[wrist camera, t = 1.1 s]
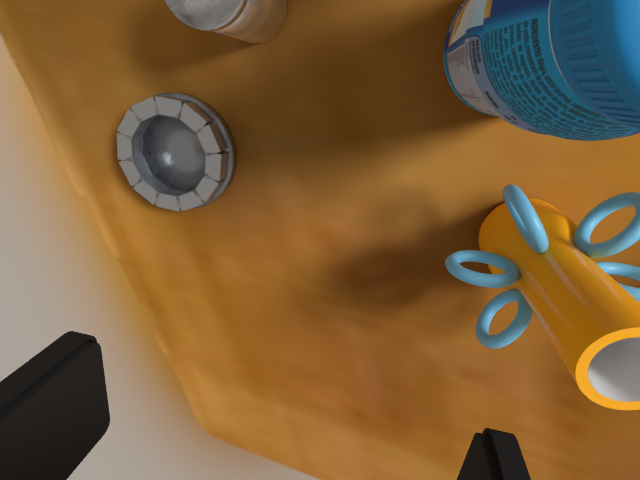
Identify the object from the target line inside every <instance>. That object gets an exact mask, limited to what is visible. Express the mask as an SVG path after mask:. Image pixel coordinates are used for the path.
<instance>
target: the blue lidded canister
mask: <svg viewBox="0 0 640 480" xmlns="http://www.w3.org/2000/svg"><path fill="white" fill-rule="evenodd" d="M443 63H444V70H445V74H446V77H447V80H448V83H449V85H450V87H451V88H452V90H453V92H454V93H455V94H456V96H457V97H458V98H459V99H460V100H461V101H462V102H463V103H465V104H466V105H467V106H469V107H470V108H472V109H474V110H476V111H478V112H481V113H484V114H488V115H492V116H499V117H500V118H502V119H503V120H505V121H506V122H508V123H510V124H511V125H513V126H516V127H518V128H520V129H523V130H526V131H529V132H533V133H538V134H544V135H553V136H556V137H560V138H565V139H571V140H582V141H597V140H608V139H615V138H621V137H626V136H630V135H634V134H638V133H640V0H465V1H464V2H463V3H462V5H461V6H460V7H459V9H458V10H457V12H456V14H455V15H454V17H453V19H452V21H451V23H450V26H449V28H448V31H447V34H446V38H445V43H444V50H443Z"/></svg>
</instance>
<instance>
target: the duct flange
mask: <svg viewBox="0 0 640 480" xmlns="http://www.w3.org/2000/svg"><path fill="white" fill-rule="evenodd" d="M117 130H118V131H119V132H120V133H117V153H118V159H120V160H123V161H120V162H119V164H120V166H121V168H122V170H123V171H124V173H125V175H126V177H127V179H128V181H129V183H130V185H131V186H133V185H135V184H136V185H135V186H134V188H133V189H134V190H136V191H137V192H138V193H139V194H140V195H142V196H143V197H144V198H145V199H147V200H148V201H149V202H150V203H152V204H153V205H154V204H156V206H157V207H161V208H166V209H170V210H175V211H179V212H180V211H181V210H182V211H185V210H188V209H191V208H197V207H201V206H204V205H206V204H209V203H210V202H212V201H213V200H215V199H217V198H218V197H219V196H220V195H222V194H223V193H224V191H225V190H226V189H227V188H228V186H229V184H230V183H231V180H232V178H233V175H234V172H235V166H236V151H235V145H234V141H233V138H232V135H231V133H230V131H229V129H228V127H227V125H226V123H225V122H224V120H223V119H222V118H221V116H220V115H219V114H218V113H217V112H216V111H215V110H214V109H213V108H212V107H211V106H210V105H208V104H207V103H206V102H204V101H202V100H200V99H199V98H196V97H194V96H191V95H188V94H183V93H163V94H158V95H155V96H152V97H150V98H148V99H146V100H144V101H142V102H139V103H137V104H135V105H133V106H131V108H130V109H128V111H127V112H126V114H125V116H124V118H123V120H122V122H121V124H120V126H119V128H118V129H117Z"/></svg>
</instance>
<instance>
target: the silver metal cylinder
mask: <svg viewBox="0 0 640 480" xmlns="http://www.w3.org/2000/svg"><path fill="white" fill-rule="evenodd" d="M165 2H166V4H167V6H168V7H169V9H170V10H171V11H172V13H173V14H174V15H175V16H176V17H177V18H178V19H179V20H181V21H182V22H183V23H185V24H186V25H188V26H190V27H193V28H196V29H199V30H203V31H213V32H216V33H220V34H223V35H226V36H230V37H233V38H236V39H240V40H243V41H246V42H250V43H263V42H266V41H269V40H270V39H272V38H273V37H275V36H276V35H277V34H278V32H279V31H280V30H281V28H282V26H283V24H284V21H285V18H286V13H287V1H286V0H165Z"/></svg>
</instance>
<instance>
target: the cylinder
mask: <svg viewBox="0 0 640 480" xmlns="http://www.w3.org/2000/svg"><path fill="white" fill-rule="evenodd" d="M503 197H504V200H505V203H503V204H501V205H499V206H498V207H496V208H495V209H494V210H493V211H491V212H490V213H489V215H488V216H487V217H486V218H485V220H484V221H483V223H482V225H481V228H480V231H479V236H478V243H479V248H480V251H479V250H462V251H457V252H454V253H452V254H450V255H449V256H448V257H447V259H446V261H445V265H446V268H447V270H448V271H449V273H450V274H452V275H453V276H454V277H456V278H457V279H459V280H461V281H464V282H466V283H469V284H472V285H476V286H481V287H489V288H501V287H504V288H505V289H507V291H504V292H502V293H500V294H499V295H497V296H496V297H494V298H493V299H492V300H491V301H490V302H489V303H488V304H487V305H486V306H485V308H484V309H483V310H482V312H481V314H480V316H479V318H478V321H477V325H476V335H477V338H478V340H479V341H480V343H481V344H482V345H484V346H486V347H488V348H500V347H504V346H506V345H508V344H510V343H512V342H513V341H514V340H516V339H517V338H518V337H519V336H520V335H521V334H522V333H523V332H524V330H525V329H526V327H527V326H528V324H529V322H530V320H531V317H532V313H534V314H535V316H536V318H537V319H538V321H539V322H540V324H541V326H542V327H543V329H544V331H545V332H546V334H547V336H548V337H549V339H550V340H551V342H552V344H553V345H554V347H555V349H556V350H557V352H558V354H559V355H560V357H561V358H562V360H563V362H564V363H565V365H566V367H567V368H568V370H569V372H570V373H571V375H572V376H573V378H574V380H575V381H576V383H577V385H578V386H579V388H580V390H581V391H582V392H583V393H584V395H586V396H587V397H588V398H589V399H590V400H592V401H593V402H595V403H597V404H599V405H602V406H604V407H608V408H612V409H618V410H638V409H640V288H636V287H631V286H627V285H623V284H620V283H617V282H616V281H615V280H614V279H613V278H611V277H610V276H609V275H608V274H612V275H619V276H624V277H628V278H632V279H635V280H638V281H640V267H636V266H632V265H628V264H623V263H616V262H594V261H593V260H591V259H590V258H589V257H592V258H601V257H607V256H611V255H614V254H616V253H619V252H621V251H623V250H625V249H626V248H628V247H629V246H631V245H632V244H634V243H635V242H636V241H638V240H639V239H640V193H636V192H630V193H623V194H619V195H616V196H614V197H611V198H609V199H607V200H605V201H604V202H602V203H600V204H599V205H597V206H596V207H595V208H594V209H592V210H591V211H590V212H589V213H588V214H587V215H586V216H585V217H584V218H583V220H582V221H581V222H580V224H579V225H577V224H576V223H575V222H574V221H572V220H571V219H570V218H569V217H567V216H566V215H565V214H563V213H562V212H561V211H559V210H558V209H557V208H555V207H554V206H552V205H551V204H549V203H548V202H545V201H543V200H540V199H535V198H527V197H526V196H525V194H524V193H523V192H522V190H521V189H520V188H519V187H517V186H516V185H512V184H511V185H507V186H506V187H505V188H504V189H503ZM629 206H632V207H635V208H636V213H635V216H634V218H633V220H632V221H631V223H630V224H629V225H628V226H627V227H626V228H625V229H624V230H623V231H622V232H621V233H619V234H618V235H617V236H615V237H613V238H612V239H610V240H608V241H605V242H602V243H598V244H592V243H591V242H590V235H591V233H592V231H593V229H594V228H595V226H596V225H597V224H598V223H599V222H600V221H601V220H602V219H603V218H605V217H606V216H607V215H609V214H610V213H612V212H614V211H616V210H618V209H621V208H624V207H629ZM462 262H480V263H485V264H487V265H488V267H489V269H490V271H491V273H492V274H485V273H479V272H475V271H472V270H469V269H467V268H464V267H463V266H461V265H460V264H459V263H462ZM513 301H517V302H518V304H519V308H518V312H517V315H516V317H515V319H514V320H513V322H512V323H511V324H510V325H509V326H508V327H507V328H506V329H505V330H504V331H502V332H501V333H499V334H497V335H489V332H488V329H489V324H490V322H491V320H492V318H493V316H494V315H495V314H496V312H497V311H498V310H499V309H500V308H501V307H503V306H504V305H506V304H507V303H510V302H513Z"/></svg>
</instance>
